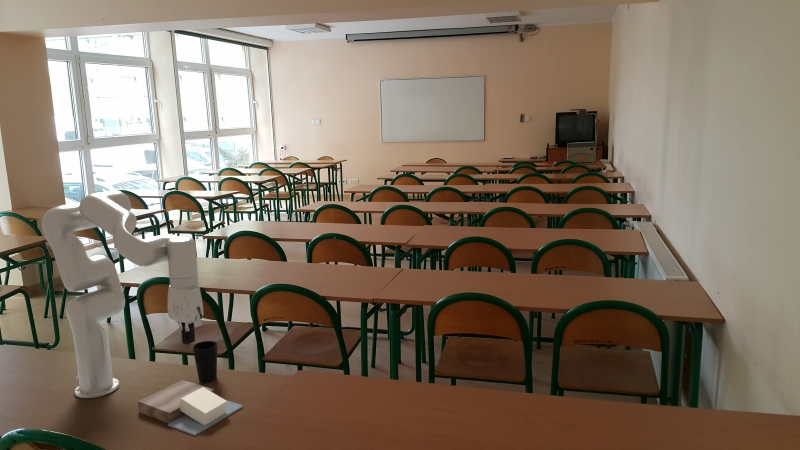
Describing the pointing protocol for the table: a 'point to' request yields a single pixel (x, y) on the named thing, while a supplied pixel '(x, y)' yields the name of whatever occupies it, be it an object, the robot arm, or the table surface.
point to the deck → (168, 401)
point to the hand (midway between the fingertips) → (188, 342)
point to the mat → (195, 427)
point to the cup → (206, 361)
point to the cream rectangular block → (203, 406)
